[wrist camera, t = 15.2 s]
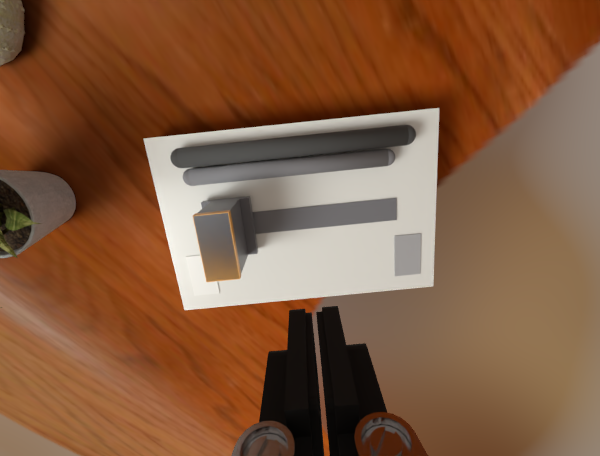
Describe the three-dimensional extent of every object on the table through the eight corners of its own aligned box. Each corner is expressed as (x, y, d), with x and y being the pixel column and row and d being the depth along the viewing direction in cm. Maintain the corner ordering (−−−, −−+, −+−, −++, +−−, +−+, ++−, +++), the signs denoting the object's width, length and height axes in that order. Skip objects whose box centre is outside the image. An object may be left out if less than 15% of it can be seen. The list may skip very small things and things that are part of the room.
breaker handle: (250, 195, 26) (239, 211, 21) (258, 250, 28) (250, 277, 23) (203, 200, 26) (181, 216, 21) (214, 255, 28) (196, 283, 23)
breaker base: (424, 110, 28) (448, 106, 23) (421, 272, 33) (440, 294, 28) (158, 137, 28) (133, 139, 24) (194, 294, 33) (178, 319, 28)
